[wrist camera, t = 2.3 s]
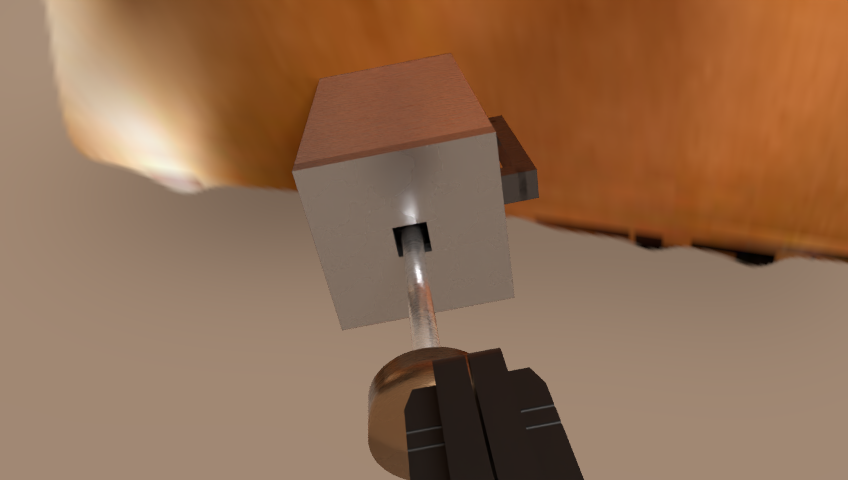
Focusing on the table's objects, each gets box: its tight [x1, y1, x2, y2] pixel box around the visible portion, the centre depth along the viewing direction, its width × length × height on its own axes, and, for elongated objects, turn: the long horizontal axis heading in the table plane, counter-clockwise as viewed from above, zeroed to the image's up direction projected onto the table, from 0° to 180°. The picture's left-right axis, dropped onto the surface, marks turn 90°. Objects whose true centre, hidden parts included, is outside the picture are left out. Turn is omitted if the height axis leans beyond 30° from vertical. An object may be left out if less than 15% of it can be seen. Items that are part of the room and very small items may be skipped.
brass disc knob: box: [368, 222, 472, 480], centre depth 29 cm, size 8×8×20 cm
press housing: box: [292, 53, 539, 330], centre depth 41 cm, size 14×11×20 cm
